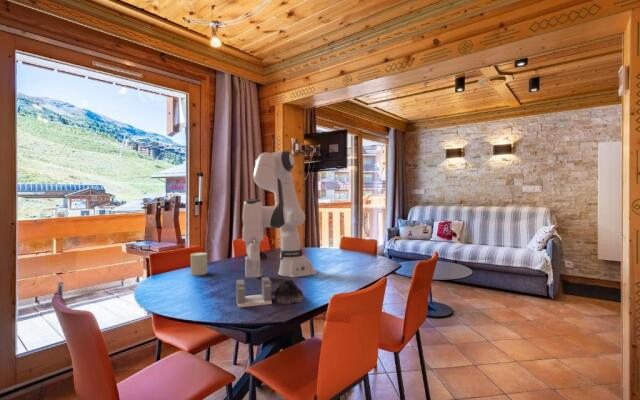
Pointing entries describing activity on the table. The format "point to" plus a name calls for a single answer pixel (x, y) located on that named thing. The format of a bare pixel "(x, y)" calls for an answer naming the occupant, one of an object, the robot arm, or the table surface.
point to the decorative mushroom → (262, 257)
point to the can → (198, 264)
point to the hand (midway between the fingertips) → (252, 268)
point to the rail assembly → (254, 299)
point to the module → (249, 271)
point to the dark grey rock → (288, 293)
